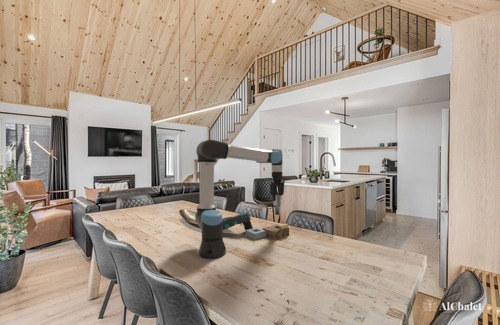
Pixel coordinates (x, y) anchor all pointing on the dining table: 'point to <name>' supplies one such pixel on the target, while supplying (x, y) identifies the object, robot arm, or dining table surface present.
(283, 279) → the dining table surface
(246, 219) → the gun
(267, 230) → the socket block
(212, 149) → the robot arm
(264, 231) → the grey square holed block
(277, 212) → the steel round bar
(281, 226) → the tan rectangular bar
